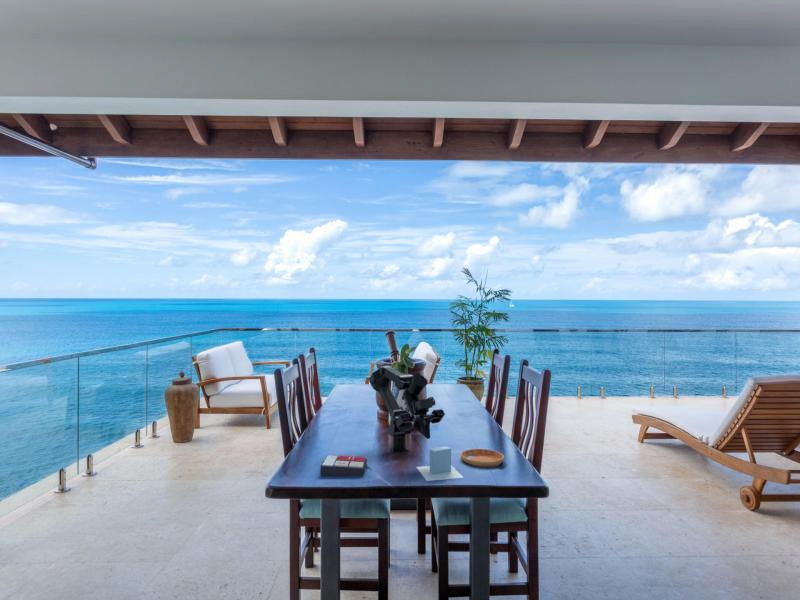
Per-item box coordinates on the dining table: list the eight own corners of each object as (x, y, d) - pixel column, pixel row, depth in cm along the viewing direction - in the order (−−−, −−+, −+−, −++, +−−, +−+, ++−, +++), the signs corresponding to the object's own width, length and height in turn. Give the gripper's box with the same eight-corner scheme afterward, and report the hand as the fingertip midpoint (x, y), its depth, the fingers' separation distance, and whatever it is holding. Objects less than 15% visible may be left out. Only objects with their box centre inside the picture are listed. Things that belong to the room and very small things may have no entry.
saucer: (466, 454, 181) (466, 446, 181) (506, 458, 175) (506, 450, 175) (456, 466, 166) (456, 458, 166) (500, 472, 160) (500, 464, 160)
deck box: (429, 472, 158) (429, 448, 159) (446, 468, 162) (446, 446, 162) (434, 474, 156) (434, 451, 156) (451, 471, 159) (451, 448, 159)
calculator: (363, 466, 156) (320, 463, 157) (363, 479, 156) (319, 476, 157) (367, 456, 167) (326, 453, 168) (366, 468, 167) (326, 465, 168)
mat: (416, 468, 163) (416, 467, 163) (450, 465, 166) (450, 464, 166) (426, 482, 150) (426, 480, 150) (463, 479, 153) (463, 477, 153)
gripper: (399, 392, 166) (414, 429, 156) (442, 387, 175) (458, 422, 165) (389, 409, 173) (403, 446, 163) (431, 404, 182) (447, 439, 172)
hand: (428, 438), depth 166 cm, fingers closed
